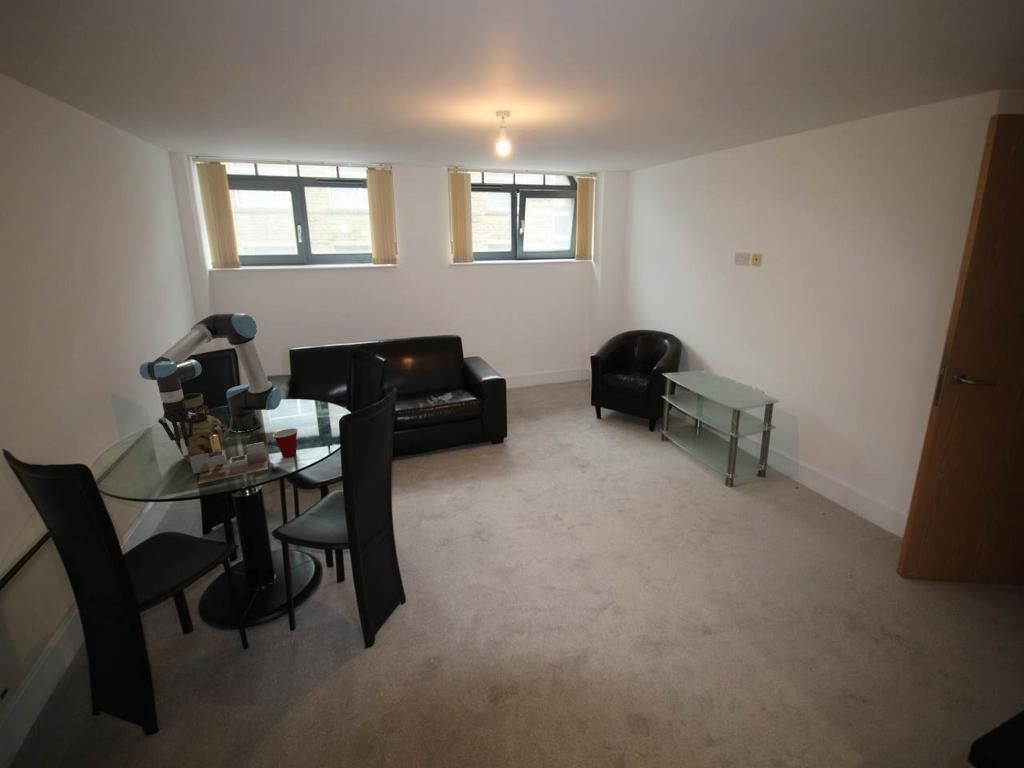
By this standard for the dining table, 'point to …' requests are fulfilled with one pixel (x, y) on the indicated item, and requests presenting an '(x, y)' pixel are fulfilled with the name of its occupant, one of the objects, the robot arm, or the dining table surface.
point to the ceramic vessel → (200, 427)
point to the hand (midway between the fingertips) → (185, 454)
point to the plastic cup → (287, 442)
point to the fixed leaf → (249, 456)
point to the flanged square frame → (207, 461)
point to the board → (226, 472)
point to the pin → (215, 444)
